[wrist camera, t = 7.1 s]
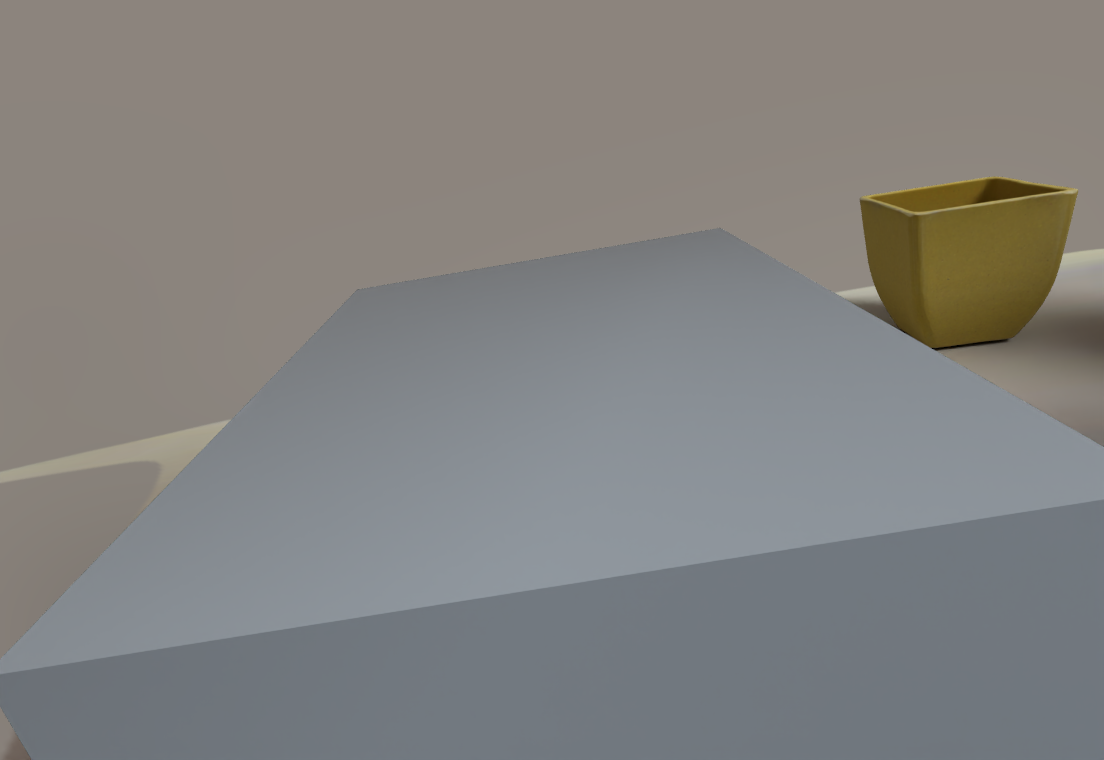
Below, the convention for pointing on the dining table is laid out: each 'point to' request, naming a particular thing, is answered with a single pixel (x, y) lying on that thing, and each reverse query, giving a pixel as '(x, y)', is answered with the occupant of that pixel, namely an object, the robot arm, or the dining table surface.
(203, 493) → the plug
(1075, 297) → the dining table surface
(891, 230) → the flower pot
